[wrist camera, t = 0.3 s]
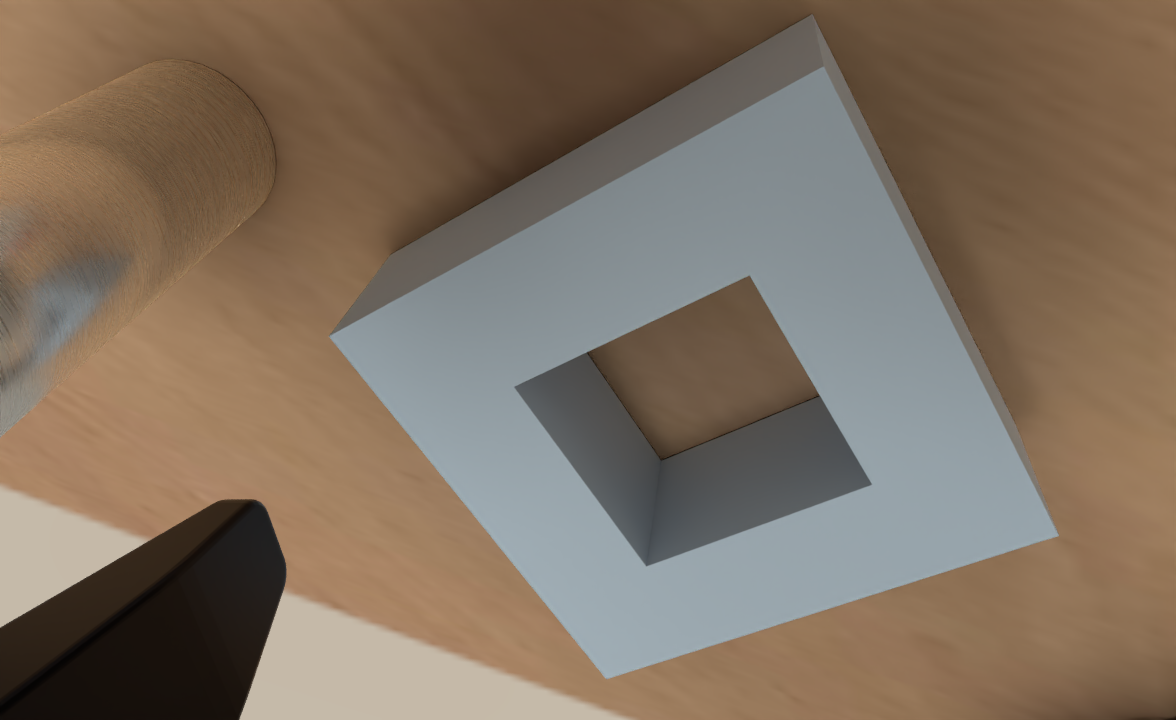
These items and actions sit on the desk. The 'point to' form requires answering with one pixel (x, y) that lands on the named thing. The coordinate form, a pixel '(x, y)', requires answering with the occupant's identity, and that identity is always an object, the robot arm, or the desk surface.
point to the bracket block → (669, 282)
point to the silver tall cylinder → (116, 212)
